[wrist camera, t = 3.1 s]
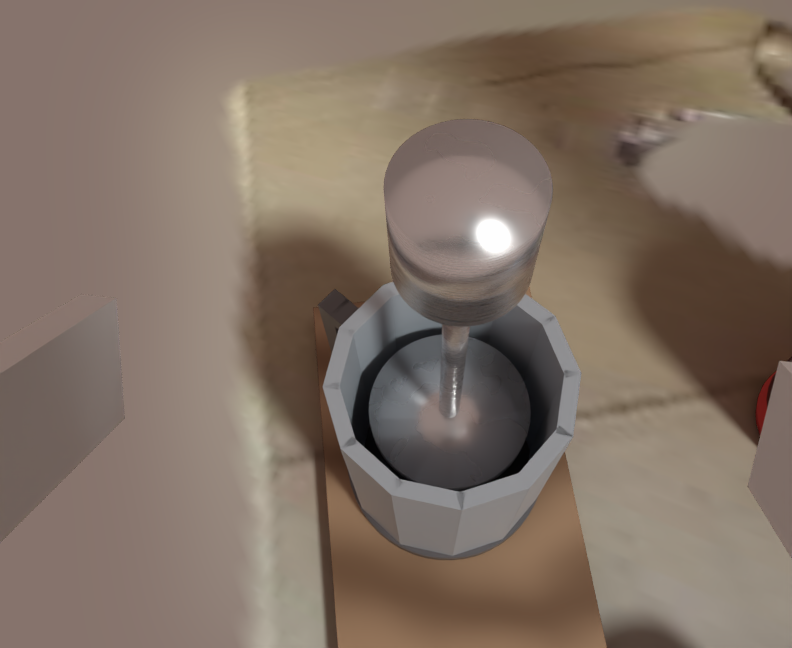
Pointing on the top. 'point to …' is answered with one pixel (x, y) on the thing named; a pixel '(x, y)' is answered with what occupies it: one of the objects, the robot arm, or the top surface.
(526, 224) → the plunger
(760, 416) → the canned food
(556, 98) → the top surface
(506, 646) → the serving board
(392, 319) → the grey cup
